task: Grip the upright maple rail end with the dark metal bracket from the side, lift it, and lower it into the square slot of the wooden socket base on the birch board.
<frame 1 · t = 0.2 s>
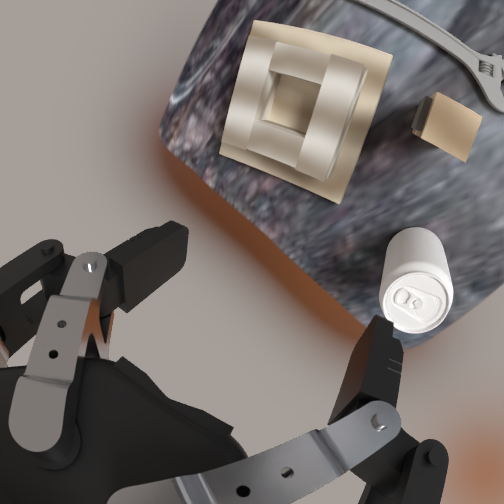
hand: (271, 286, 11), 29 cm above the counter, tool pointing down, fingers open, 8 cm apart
adjustable wrench: (441, 35, 23), on the counter
beverage can: (415, 254, 36), on the counter
wooden socket base: (301, 104, 35), on the counter
rail end: (432, 125, 28), on the counter
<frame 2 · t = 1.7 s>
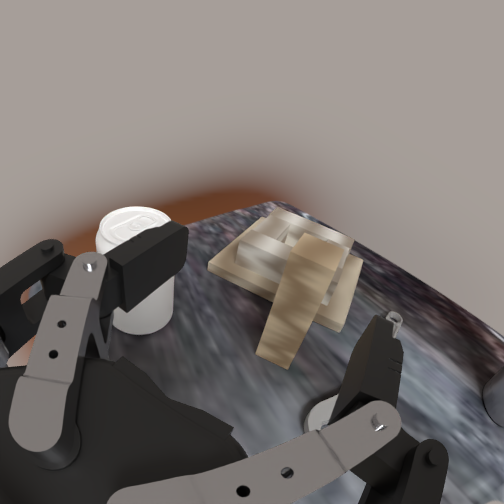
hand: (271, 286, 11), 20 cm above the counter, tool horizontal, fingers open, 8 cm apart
adjustable wrench: (369, 377, 32), on the counter
beverage can: (139, 312, 34), on the counter
wooden socket base: (293, 268, 47), on the counter
rail end: (278, 350, 33), on the counter
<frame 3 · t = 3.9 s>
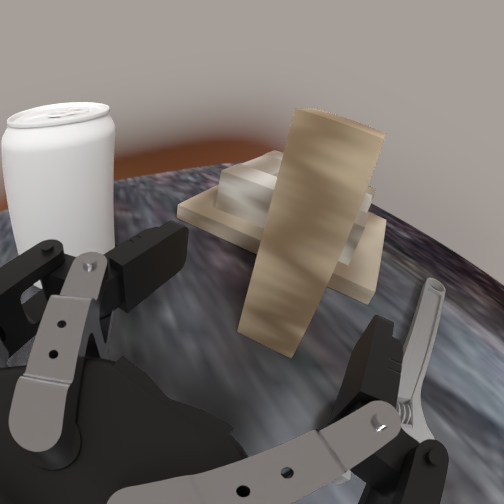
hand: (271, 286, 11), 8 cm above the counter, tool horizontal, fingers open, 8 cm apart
adjustable wrench: (415, 365, 20), on the counter
beverage can: (69, 265, 21), on the counter
wooden socket base: (297, 223, 34), on the counter
rail end: (275, 326, 21), on the counter
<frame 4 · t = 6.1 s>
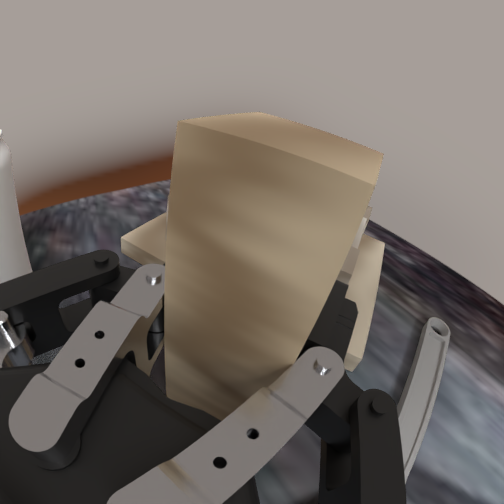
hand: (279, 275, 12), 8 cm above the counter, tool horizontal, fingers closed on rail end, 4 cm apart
adjustable wrench: (403, 443, 14), on the counter
wooden socket base: (272, 253, 28), on the counter
rail end: (220, 414, 14), on the counter, touching gripper
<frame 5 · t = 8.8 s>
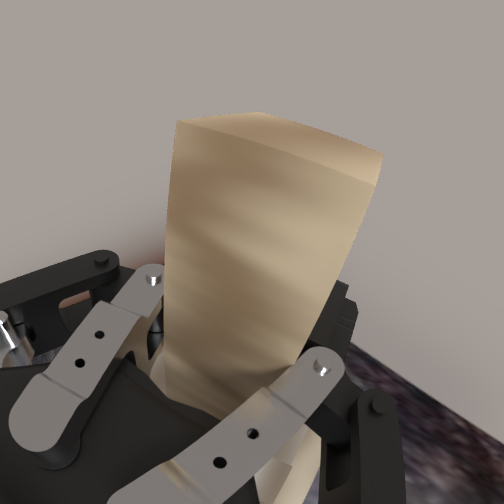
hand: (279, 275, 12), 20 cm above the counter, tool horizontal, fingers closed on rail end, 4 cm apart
wooden socket base: (221, 420, 25), on the counter
rail end: (220, 414, 14), point 12 cm above the counter, touching gripper
when the fingers open (11 cm above the counter, at t = 11.6 s): rail end drops 2 cm, resting on wooden socket base.
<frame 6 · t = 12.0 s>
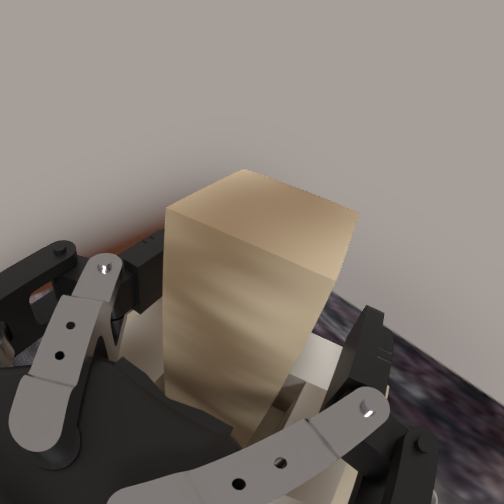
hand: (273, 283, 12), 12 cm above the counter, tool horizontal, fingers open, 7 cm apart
wooden socket base: (213, 434, 16), on the counter
rail end: (215, 427, 15), point 1 cm above the counter, touching wooden socket base
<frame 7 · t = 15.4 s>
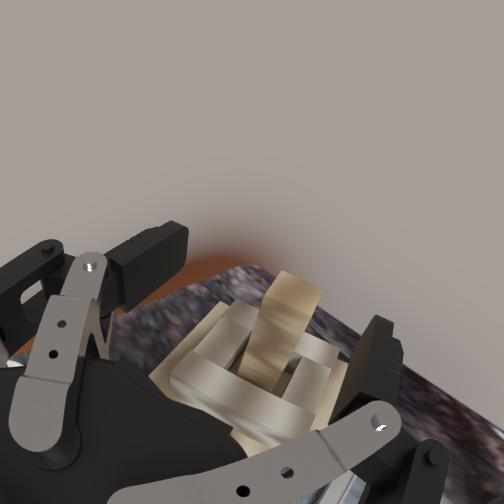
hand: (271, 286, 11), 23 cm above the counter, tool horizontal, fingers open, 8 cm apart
wooden socket base: (253, 388, 33), on the counter
rail end: (256, 382, 32), point 1 cm above the counter, touching wooden socket base
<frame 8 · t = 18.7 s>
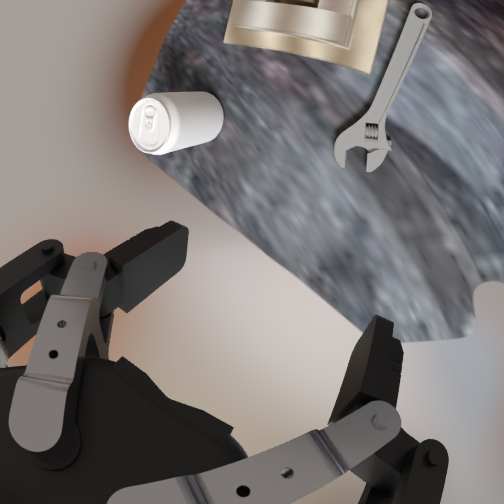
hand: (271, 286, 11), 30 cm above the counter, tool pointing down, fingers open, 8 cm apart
adjustable wrench: (395, 89, 30), on the counter
beverage can: (203, 116, 42), on the counter
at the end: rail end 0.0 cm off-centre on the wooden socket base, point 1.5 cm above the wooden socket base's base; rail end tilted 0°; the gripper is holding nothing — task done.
